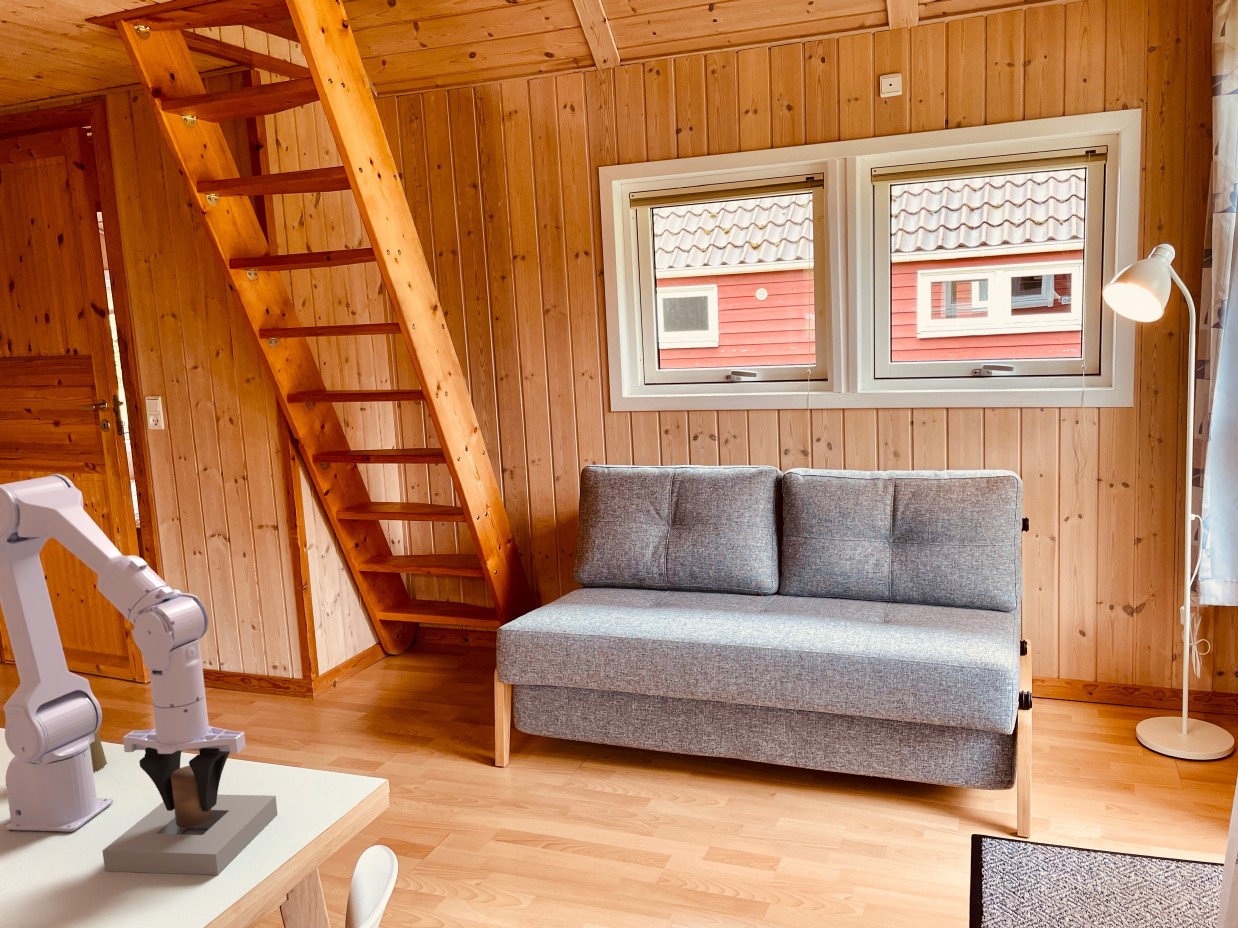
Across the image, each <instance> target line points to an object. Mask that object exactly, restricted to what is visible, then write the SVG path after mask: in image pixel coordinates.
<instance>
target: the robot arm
mask: <svg viewBox="0 0 1238 928" xmlns="http://www.w3.org/2000/svg"><path fill="white" fill-rule="evenodd" d="M51 538H52V539H55V540H56V541H57V542H59V543H60V544H61V545H62V546H63V547H64V548H65V549H66V550H68V551H69V552H70V553H71V554H73V555H74V556H75V557H76V558H77V559H79V560H80V561H81V562H82V563H83V564H84V565H85V566H87V567H88V568H90V570H92V571H93V572H94V573H96V574H97V581H96V583H97V584H96V586H97V590H98V592H100V593H101V595H102V596H103V597H104V598H106V600H108V601H109V602H110V603H111V604H112V605H113V606H114V607H115V608H116V610H117V611H119V613H121V614H122V615H123V616H124V618H125V619H126V620H128V621H129V623H131V625H133V629H131V635H132V638H133V641H134V643H135V645H136V647H138V649H139V650H140V652H141V656H142V662H143V664H144V666H145V668H146V669H148V675H149V682H150V691H151V698H152V706H153V714H154V715H153V716H154V723H155V725H154V726H155V728H152V729H144V730H143V729H142V730H131V731H130V732H129V733H127V734H126V735H124V736H122V741H123V750H124V753H133V752H136V751H145V753H144V756H143V757H142V758H141V759H139V768H141V769H142V770H143V771H144V772H145V773H146V775H148V777H149V778H150V780H151V781H152V782H153V784H154V785H155V787H156V789H157V791H158V793H159V796H161V799H162V802H164V804H165V807H166V809H167V811H172V810H173V809H174V801H173V792H172V784H171V774H172V773H173V772H174V771H175V770H177V769H179V768H181V760H182V759H181V758H182V752H183V751H187V752H188V751H190V752H195V751H196V752H198V751H199V754H196V755H195V756H194V757H192V759H190V760H189V761H188V766H190V767H191V769H192V771H193V773H194V776H195V779H196V782H197V786H198V792H199V800H200V806H201V809H202V811H204V812H207V811H209V810H210V809H211V808H212V807H214V806H215V805H216V802H217V794H218V792H219V787H220V783H221V782H220V781H221V778H222V773H223V770H224V767H225V765H226V762H227V759H228V758H229V756H230V754H233V755H236V754H239V753H240V752H242V751H243V750H244V749H245V748H246V746H247V745H246V737H245V736H246V734H245V731H235V730H234V731H233V730H230V729H225V728H220V727H215V726H212V725H209V724H210V723H209V717H208V715H209V714H208V708H207V699H206V688H205V679H204V678H205V676H204V669H203V660H202V659H203V658H202V653H201V652H202V651H201V643H200V639H202V638H203V637H204V636H205V635H206V634H207V632H208V629H209V626H210V625H209V624H210V623H209V622H210V620H209V619H210V618H209V614H208V611H207V609H206V607H205V605H204V604H203V603H202V601H201V600H200V599H199V597H198V596H197V595H195V594H193V593H189V592H182V591H181V590H179V589H176V588H175V589H172V588H171V587H170V586H169V584H167V583H166V582H165V581H164V579H162V578H161V576H159V575H158V573H156V572H155V570H153V569H152V568H151V567H150V566H149V565H148V563H147V562H146V561H145V560H144V558H142V557H140V556H138V555H134V554H133V555H131V554H130V555H123V554H122V552H120V550H118V548H117V547H116V546H115V544H114V543H113V542H112V541H111V540H110V539H109V538H108V536H107V535H106V534H105V532H103V530H102V529H101V528H100V527H99V526H98V524H97V523H96V522H95V521H94V520H93V519H92V518H91V516H90V515H89V514H88V513H87V512H86V511H85V509H84V498H83V494H82V491H81V490H79V489H78V488H77V487H76V486H75V485H74V483H73V481H71V480H70V479H69V478H68V477H67V476H66V475H64V474H60V473H55V474H54V473H53V474H49V475H48V476H43V477H36V478H32V479H26V480H20V481H14V482H9V483H4V484H0V607H1V610H2V613H3V614H2V615H3V618H4V623H5V625H6V631H7V635H8V638H9V643H10V645H11V646H10V648H11V650H12V654H13V657H14V661H15V666H16V669H17V674H18V677H19V683H20V684H19V685H18V687H17V688H16V689H15V691H14V692H13V693H12V695H11V696H10V697H9V698H8V699H7V701H6V702H5V703H4V705H3V707H2V708H3V711H4V716H5V727H4V739H5V743H6V746H7V747H8V750H9V752H11V753H12V755H13V757H12V758H11V760H10V762H9V763H8V765H7V769H6V771H5V772H6V773H5V786H6V788H5V789H6V793H7V794H6V795H7V801H8V810H9V817H10V823H9V824H7V825H6V830H8V831H11V830H13V831H38V832H39V831H40V832H42V831H43V832H74V831H76V830H78V829H79V828H80V827H82V826H83V825H85V823H87V822H88V821H90V820H91V819H93V818H94V817H95V816H96V815H98V814H99V813H101V812H102V811H103V810H105V809H106V808H108V806H110V805H111V804H113V802H114V799H113V798H109V797H108V798H104V797H97V791H96V782H95V775H94V773H93V766H92V758H91V750H90V744H91V743H92V742H94V741H95V738H94V733H95V732H97V731H98V732H99V730H100V728H101V725H102V722H103V711H102V707H101V705H100V703H99V701H98V699H97V698H96V697H95V695H94V693H93V691H92V689H91V685H90V681H89V680H88V678H85V677H83V676H80V675H78V674H76V673H73V672H71V671H69V668H68V665H67V662H66V656H65V653H64V652H65V651H64V649H63V645H62V641H61V637H60V633H59V629H58V624H57V621H56V617H55V612H54V610H53V606H52V605H53V604H52V602H51V601H52V600H51V597H50V593H49V589H48V586H47V581H46V578H45V573H44V570H43V566H42V562H41V558H40V553H41V550H42V549H43V548H44V546H45V544H46V543H47V541H48V540H49V539H51Z"/></svg>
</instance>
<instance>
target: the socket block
mask: <svg viewBox="0 0 1238 928" xmlns="http://www.w3.org/2000/svg"><path fill="white" fill-rule="evenodd" d="M211 811H212V817H211V818H210V819H209V820H208V821H207V822H205V823H203V824H201V825H198V826H194V827H179V826H177V825H176V818H175V810H174V809H173V810H172V811H167V809H166V807H165V804H164V802H163V801H162V802H161V803H160V804H159V805H157V806H156V807H155V808H154V809H152V810H151V811H150V812H148V813H147V814H146V815H145V816H143V818H141V819H140V820H139V821H137V822H136V823H135V824H134V825H132V826H131V827H130V828H129V829H128V830H126V831H125V832H124V833H123V834H121V835H120V836H119V837H117V838H116V839H115V840H114V841H112V842H111V843H110V844H109V845H107V847H105V848H104V849H102V857H103V859H102V860H103V865H104V871H105V872H125V873H132V872H133V873H150V874H151V873H153V874H154V873H155V874H156V873H157V874H158V873H159V874H184V875H186V874H187V875H188V874H189V875H206V876H207V875H210V876H213V875H215V876H219V875H220V873H221V872H222V871H224V869H226V867H227V866H228V865H229V864H230V863H232V861H233V860H234V859H236V857H237V856H239V855H240V853H241V852H242V851H243V850H244V849H245V848H246V847H247V846H248V845H249V844H250V843H251V842H252V841H253V840H254V839H255V838H256V837H257V836H258V835H259V834H260V833H261V832H262V831H263V830H264V829H265V828H266V827H267V826H268V824H270V823H271V822H272V820H273V819H275V818H276V817H277V815H278V806H277V797H276V795H259V794H258V795H257V794H217V802H216V805H215V806H214V807H212V808H211ZM186 829H202V830H203V829H207V830H206V831H205V832H204V833H203V834H183V832H184V831H185V830H186Z"/></svg>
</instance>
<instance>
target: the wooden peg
mask: <svg viewBox="0 0 1238 928" xmlns="http://www.w3.org/2000/svg"><path fill="white" fill-rule="evenodd" d="M171 784H172V792H173V801H174V810H175V818H176V825H177V826H179V827H194V826H198V825H201V824H203V823H205V822H207V821H208V820H209V819H210V818H211V817H212V811H211V809H210V810H209V811H207V812H204V811H202V809H201V806H200V800H199V792H198V786H197V782H196V779H195V776H194V773H193V771H192V769H191V767H190V765H186V766H185V765H184V766H183V767H180V768H179V769H177V770H175V771H174V772H173V773H172V774H171Z"/></svg>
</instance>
